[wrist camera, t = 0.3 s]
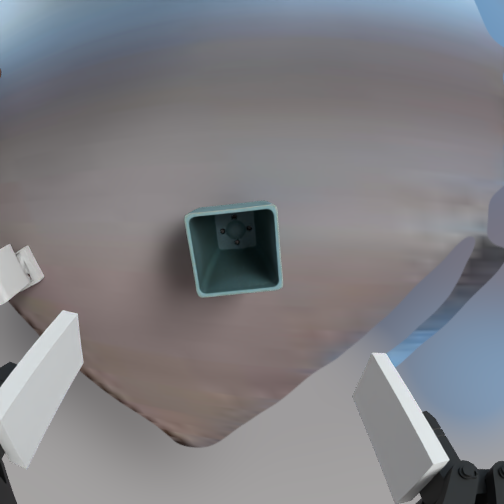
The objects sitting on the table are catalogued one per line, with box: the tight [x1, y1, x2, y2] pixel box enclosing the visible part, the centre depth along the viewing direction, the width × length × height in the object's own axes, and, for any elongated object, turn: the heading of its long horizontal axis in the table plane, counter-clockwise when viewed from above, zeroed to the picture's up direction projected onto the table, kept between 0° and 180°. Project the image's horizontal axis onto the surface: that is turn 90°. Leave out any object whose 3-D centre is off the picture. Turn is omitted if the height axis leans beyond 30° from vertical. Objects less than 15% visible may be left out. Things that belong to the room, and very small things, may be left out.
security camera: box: [0, 244, 44, 305], centre depth 35 cm, size 6×7×10 cm
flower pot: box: [184, 201, 283, 298], centre depth 36 cm, size 9×9×9 cm
